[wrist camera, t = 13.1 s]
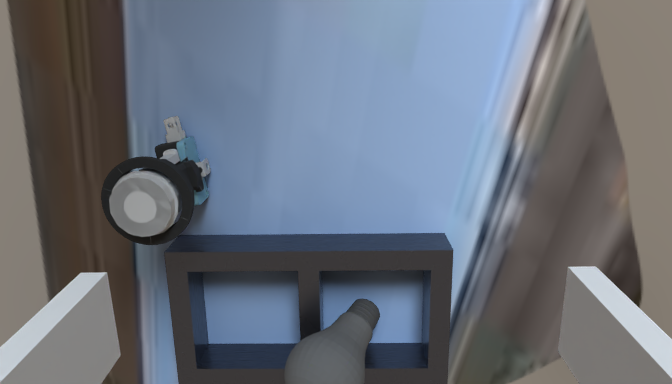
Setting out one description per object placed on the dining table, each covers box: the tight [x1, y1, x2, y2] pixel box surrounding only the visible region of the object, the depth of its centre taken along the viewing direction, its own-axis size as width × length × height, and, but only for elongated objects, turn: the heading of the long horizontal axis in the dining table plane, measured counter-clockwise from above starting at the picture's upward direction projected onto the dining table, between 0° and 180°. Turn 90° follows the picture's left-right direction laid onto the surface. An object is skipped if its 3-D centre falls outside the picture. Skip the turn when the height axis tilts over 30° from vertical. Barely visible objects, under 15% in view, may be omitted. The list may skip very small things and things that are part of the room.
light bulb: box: [284, 299, 380, 384], centre depth 38 cm, size 6×6×10 cm
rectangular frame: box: [164, 233, 453, 384], centre depth 41 cm, size 11×20×4 cm, turn 91°
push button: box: [101, 116, 210, 245], centre depth 35 cm, size 7×5×10 cm
